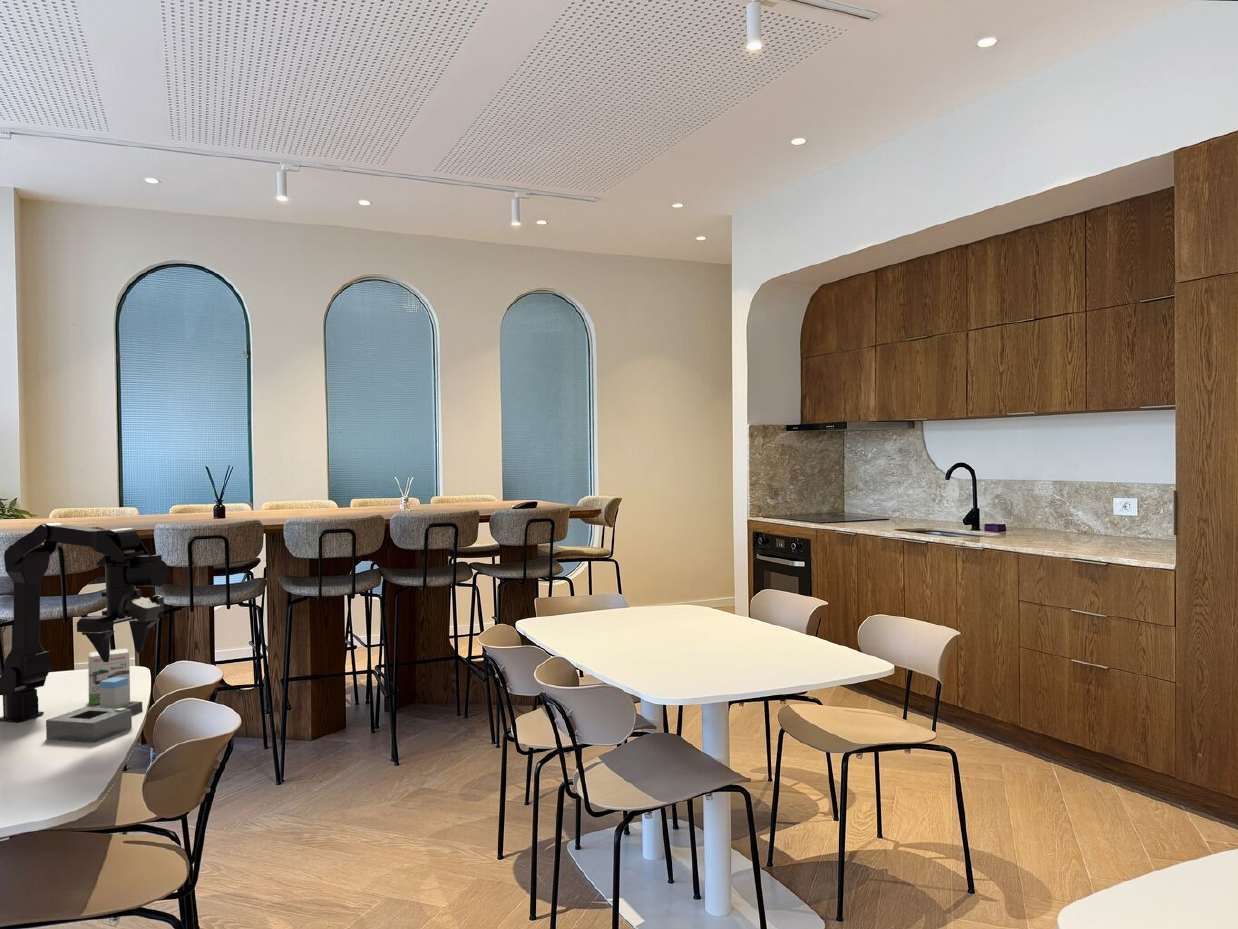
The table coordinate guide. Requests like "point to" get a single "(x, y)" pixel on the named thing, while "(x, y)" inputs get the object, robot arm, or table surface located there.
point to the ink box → (106, 671)
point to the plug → (114, 693)
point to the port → (88, 724)
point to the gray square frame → (132, 706)
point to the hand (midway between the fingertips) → (123, 657)
